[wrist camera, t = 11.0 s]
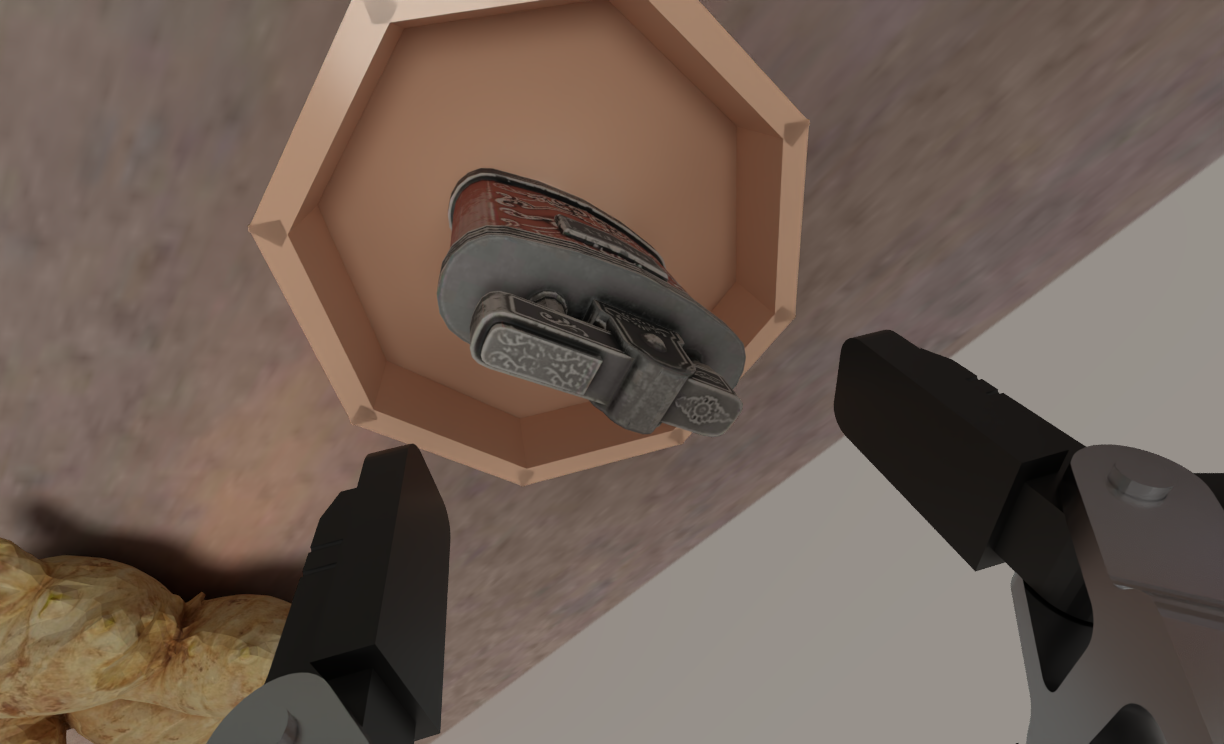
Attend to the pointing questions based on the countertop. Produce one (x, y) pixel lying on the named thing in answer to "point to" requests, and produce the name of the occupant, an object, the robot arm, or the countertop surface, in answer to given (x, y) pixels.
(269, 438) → the countertop surface
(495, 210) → the lighter
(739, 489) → the countertop surface
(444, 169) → the bowl
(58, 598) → the ginger root
